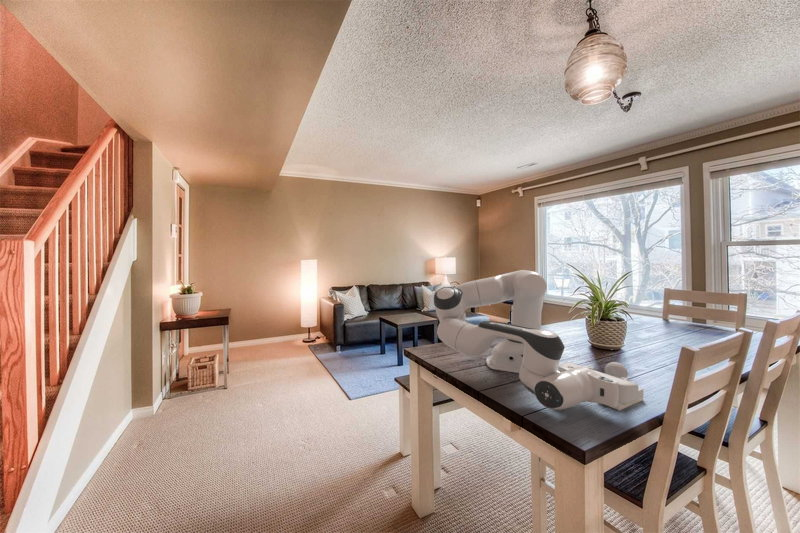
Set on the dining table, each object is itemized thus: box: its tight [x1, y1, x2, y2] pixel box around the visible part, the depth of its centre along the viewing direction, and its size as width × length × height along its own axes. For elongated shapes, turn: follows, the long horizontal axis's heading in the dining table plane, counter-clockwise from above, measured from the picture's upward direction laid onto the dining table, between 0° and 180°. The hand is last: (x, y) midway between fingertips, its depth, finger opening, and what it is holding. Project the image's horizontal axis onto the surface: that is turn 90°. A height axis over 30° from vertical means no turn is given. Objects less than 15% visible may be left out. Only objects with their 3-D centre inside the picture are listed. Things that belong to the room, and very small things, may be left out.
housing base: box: [606, 386, 645, 411], centre depth 94 cm, size 14×11×4 cm
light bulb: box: [604, 361, 629, 379], centre depth 95 cm, size 6×6×10 cm
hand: (608, 374), depth 92 cm, fingers open, 8 cm apart
